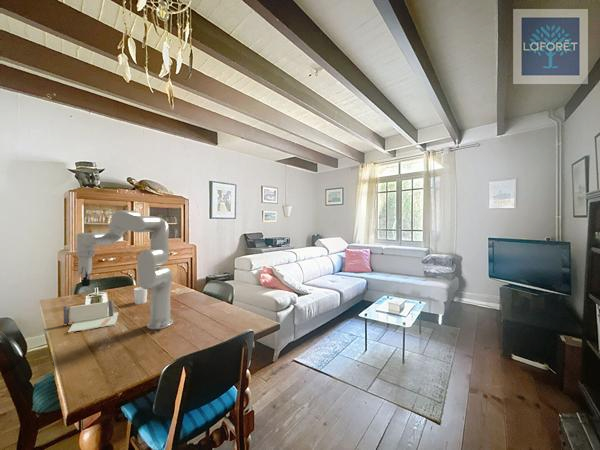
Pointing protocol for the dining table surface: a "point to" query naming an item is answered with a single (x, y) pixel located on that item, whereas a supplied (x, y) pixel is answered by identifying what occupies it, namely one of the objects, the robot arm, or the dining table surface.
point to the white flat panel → (88, 311)
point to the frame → (92, 320)
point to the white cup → (140, 295)
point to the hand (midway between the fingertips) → (85, 285)
